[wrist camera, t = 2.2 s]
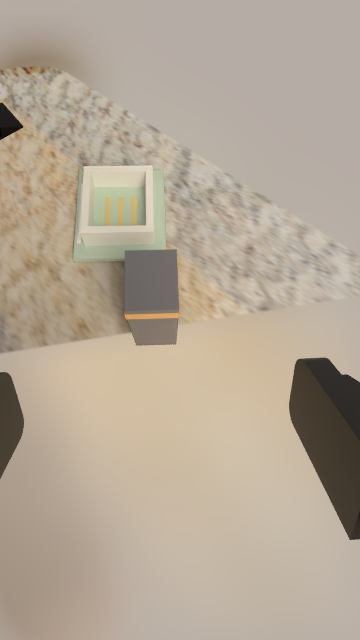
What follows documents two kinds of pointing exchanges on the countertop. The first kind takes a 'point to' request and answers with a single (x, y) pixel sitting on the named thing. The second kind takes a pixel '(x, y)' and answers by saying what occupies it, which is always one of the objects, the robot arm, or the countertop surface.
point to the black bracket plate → (8, 122)
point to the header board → (118, 212)
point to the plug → (151, 296)
